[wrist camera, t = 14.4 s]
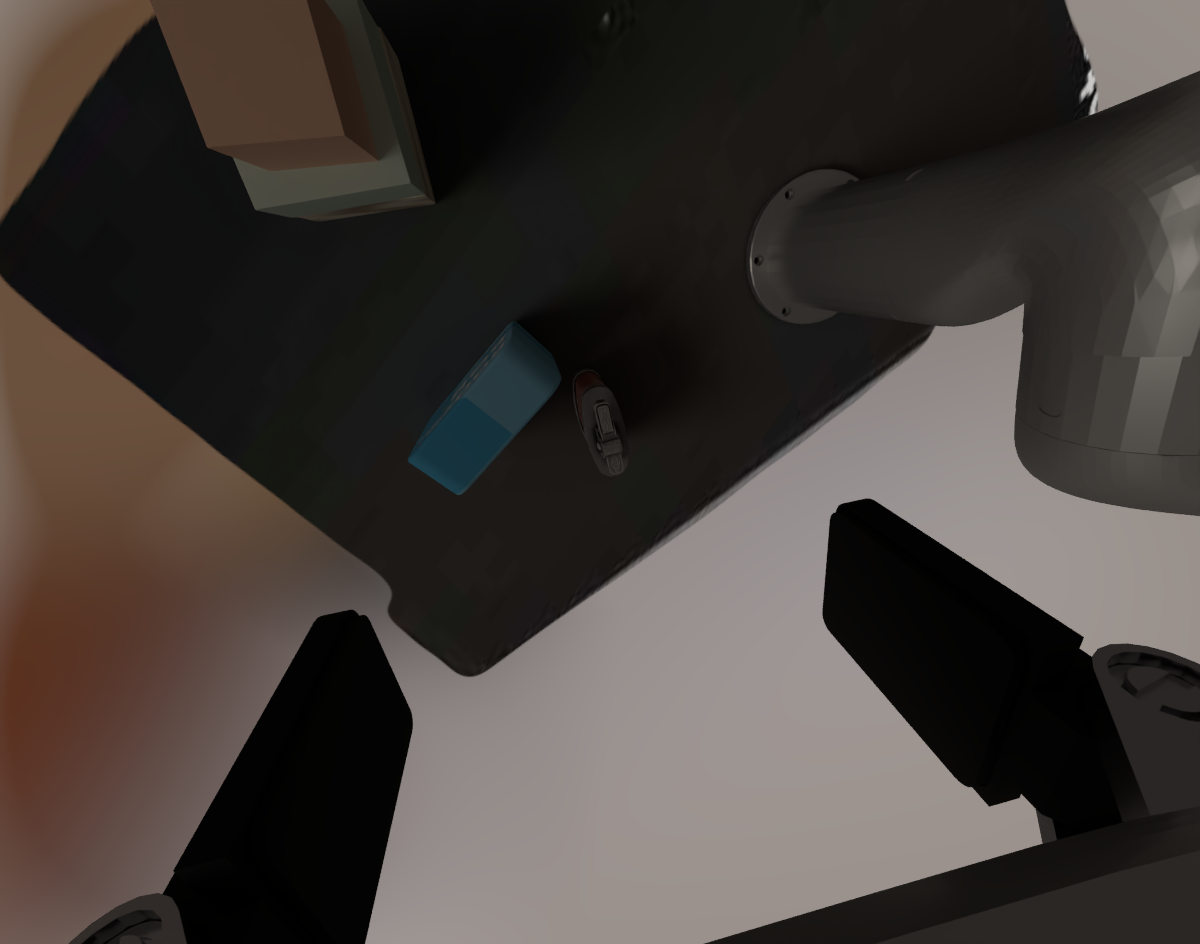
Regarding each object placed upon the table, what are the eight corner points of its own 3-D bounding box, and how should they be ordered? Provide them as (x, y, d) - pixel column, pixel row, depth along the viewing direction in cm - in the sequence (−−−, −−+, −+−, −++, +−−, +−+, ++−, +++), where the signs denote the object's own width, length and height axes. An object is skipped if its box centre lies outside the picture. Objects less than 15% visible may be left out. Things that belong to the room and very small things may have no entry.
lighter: (617, 441, 47) (641, 482, 38) (585, 450, 47) (602, 493, 38) (600, 364, 44) (622, 389, 35) (565, 373, 44) (578, 401, 35)
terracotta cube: (343, 26, 25) (295, -41, 19) (378, 161, 27) (344, 135, 22) (222, 34, 24) (137, -33, 19) (270, 171, 26) (207, 147, 21)
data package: (513, 317, 41) (513, 336, 30) (552, 352, 43) (564, 382, 32) (430, 417, 43) (402, 467, 32) (470, 446, 45) (456, 503, 34)
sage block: (377, 26, 28) (351, -19, 24) (425, 194, 32) (410, 183, 28) (224, 48, 28) (168, 6, 23) (292, 217, 32) (255, 209, 27)
